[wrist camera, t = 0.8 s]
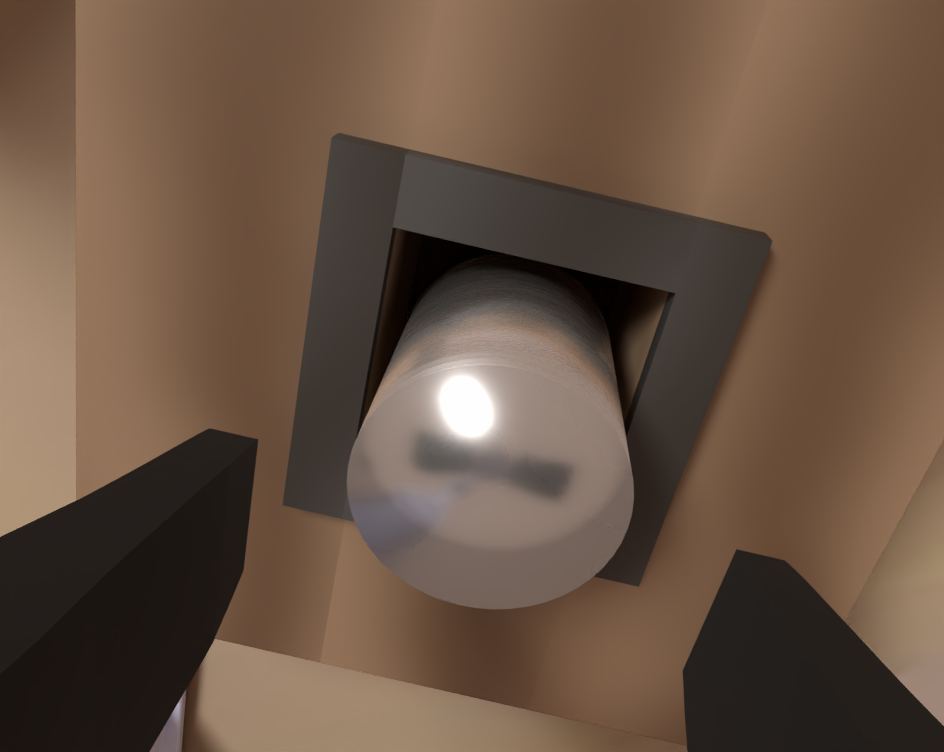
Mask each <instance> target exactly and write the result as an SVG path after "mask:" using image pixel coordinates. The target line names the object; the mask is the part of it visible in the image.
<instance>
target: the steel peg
mask: <svg viewBox="0 0 944 752" xmlns="http://www.w3.org/2000/svg"><path fill="white" fill-rule="evenodd" d="M347 493H348V500H349V504H350V509H351V513H352V515H353V518H354V521H355V524H356V526H357V528H358V530H359V532H360V534H361V536H362V537H363V539H364V541H365V542H366V544H367V545H368V547H369V548H370V549H371V551H372V552H373V554H374V555H375V556H376V557H377V558H378V559H379V560H380V561H381V562H382V563H383V564H384V565H385V566H386V567H387V568H388V569H389V570H390V571H391V572H393V573H394V574H395V575H396V576H397V577H399V578H400V579H402V580H403V581H405V582H406V583H408V584H409V585H411V586H412V587H414V588H416V589H418V590H420V591H422V592H424V593H426V594H428V595H430V596H433V597H435V598H438V599H440V600H443V601H447V602H450V603H454V604H457V605H461V606H467V607H473V608H482V609H514V608H521V607H528V606H532V605H536V604H540V603H545V602H547V601H550V600H553V599H556V598H558V597H561V596H563V595H565V594H567V593H569V592H571V591H573V590H575V589H577V588H578V587H580V586H581V585H582V584H584V583H585V582H587V581H588V580H590V579H591V578H592V577H593V576H594V575H596V574H597V573H598V572H599V571H600V570H601V569H602V568H603V567H604V566H605V565H606V564H607V563H608V561H609V560H610V559H611V558H612V557H613V555H614V554H615V552H616V551H617V549H618V548H619V546H620V544H621V543H622V541H623V538H624V536H625V534H626V532H627V530H628V527H629V523H630V519H631V516H632V511H633V502H634V484H633V476H632V470H631V464H630V458H629V452H628V446H627V440H626V434H625V428H624V422H623V416H622V410H621V404H620V398H619V392H618V386H617V380H616V374H615V368H614V362H613V356H612V350H611V344H610V338H609V333H608V328H607V325H606V322H605V319H604V316H603V314H602V312H601V310H600V308H599V306H598V304H597V303H596V301H595V300H594V298H593V297H592V295H591V294H590V293H589V292H588V290H587V289H586V288H585V287H584V286H583V285H582V284H581V283H580V282H579V281H578V280H576V279H575V278H574V277H573V276H571V275H570V274H569V273H567V272H566V271H564V270H562V269H561V268H559V267H558V266H555V265H552V264H548V263H544V262H540V261H535V260H531V259H527V258H522V257H518V256H514V255H510V254H492V255H485V256H481V257H476V258H473V259H470V260H467V261H465V262H462V263H460V264H458V265H456V266H454V267H452V268H450V269H449V270H447V271H446V272H444V273H443V274H441V275H440V276H439V277H437V278H436V279H435V280H434V281H433V282H432V283H431V284H430V285H429V286H428V287H427V288H426V290H425V291H424V292H423V293H422V294H421V296H420V297H419V299H418V301H417V302H416V304H415V306H414V308H413V310H412V312H411V315H410V317H409V319H408V321H407V324H406V326H405V328H404V331H403V333H402V335H401V337H400V340H399V342H398V344H397V347H396V349H395V351H394V354H393V356H392V358H391V360H390V363H389V365H388V367H387V370H386V372H385V374H384V377H383V379H382V381H381V383H380V386H379V388H378V390H377V393H376V395H375V397H374V400H373V402H372V404H371V406H370V409H369V411H368V413H367V416H366V418H365V420H364V423H363V425H362V427H361V429H360V432H359V434H358V436H357V439H356V441H355V443H354V446H353V448H352V451H351V455H350V459H349V463H348V472H347Z"/></svg>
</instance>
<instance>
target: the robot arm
mask: <svg viewBox="0 0 944 752" xmlns="http://www.w3.org/2000/svg"><path fill="white" fill-rule="evenodd" d="M257 447H258V439H255V438H251V437H246V436H242V435H237V434H233V433H229V432H224V431H220V430H216V429H211V428H209V429H207V430H205V431H203V432H201V433H199V434H197V435H195V436H193V437H192V438H190V439H188V440H186V441H184V442H183V443H181V444H179V445H177V446H176V447H174V448H172V449H170V450H168V451H167V452H165V453H163V454H161V455H160V456H158V457H156V458H154V459H152V460H151V461H149V462H147V463H145V464H143V465H142V466H140V467H138V468H136V469H134V470H133V471H131V472H129V473H127V474H125V475H123V476H121V477H120V478H118V479H116V480H114V481H112V482H110V483H108V484H107V485H105V486H103V487H101V488H99V489H97V490H95V491H94V492H92V493H90V494H88V495H86V496H84V497H82V498H80V499H79V500H77V501H75V502H73V503H70V504H68V505H66V506H64V507H62V508H60V509H58V510H56V511H54V512H52V513H50V514H47V515H45V516H43V517H41V518H39V519H37V520H35V521H33V522H31V523H29V524H27V525H24V526H22V527H20V528H18V529H16V530H14V531H12V532H10V533H8V534H6V535H4V536H1V537H0V752H181V750H182V738H183V725H184V713H185V700H186V688H187V687H188V685H189V683H190V682H191V680H192V678H193V676H194V675H195V673H196V671H197V669H198V668H199V666H200V664H201V662H202V661H203V659H204V657H205V655H206V654H207V652H208V650H209V648H210V647H211V645H212V643H213V641H214V639H215V636H216V634H217V632H218V630H219V627H220V625H221V623H222V621H223V618H224V616H225V614H226V611H227V609H228V607H229V604H230V602H231V600H232V597H233V595H234V592H235V590H236V588H237V585H238V583H239V580H240V578H241V576H242V573H243V571H244V563H245V554H246V545H247V536H248V527H249V518H250V509H251V500H252V492H253V483H254V474H255V465H256V456H257ZM683 690H684V710H685V725H686V738H687V750H688V752H944V726H943V725H942V724H941V723H940V722H939V721H938V720H937V719H936V718H935V717H934V716H933V715H932V714H931V713H930V712H929V711H928V710H927V709H926V708H925V707H924V706H923V705H922V704H921V703H920V702H919V701H918V700H917V699H916V698H915V697H914V695H913V694H912V693H910V691H909V690H908V689H907V688H906V687H905V686H904V685H903V684H902V683H901V682H900V681H899V680H898V679H897V678H896V677H895V675H894V674H893V673H892V672H891V671H890V670H889V669H888V668H887V667H886V666H885V665H884V664H883V663H882V662H881V661H880V659H879V658H878V657H877V656H876V655H875V654H874V653H873V652H872V651H871V650H870V649H869V648H868V647H867V645H866V644H865V643H864V642H863V641H862V640H861V639H860V638H859V637H858V636H857V635H856V634H855V632H854V631H853V630H852V629H851V628H850V627H849V626H848V625H847V624H846V623H845V622H844V620H843V619H842V618H841V617H840V616H839V615H838V614H837V613H836V612H835V611H834V610H833V609H832V607H831V606H830V605H829V604H828V603H827V602H826V601H825V600H824V599H823V598H822V597H821V596H820V595H819V594H818V593H817V591H816V590H815V589H814V588H813V587H812V586H811V585H810V584H809V583H808V582H807V581H806V580H805V579H804V578H803V577H802V576H801V575H800V574H799V573H798V572H797V571H796V570H795V569H794V568H793V567H792V566H791V565H790V564H788V563H787V562H786V561H785V560H781V559H777V558H773V557H768V556H764V555H760V554H755V553H751V552H747V551H742V550H738V549H736V551H735V553H734V556H733V558H732V560H731V563H730V565H729V567H728V569H727V572H726V574H725V576H724V578H723V581H722V583H721V585H720V587H719V590H718V592H717V594H716V596H715V599H714V601H713V603H712V605H711V608H710V610H709V612H708V614H707V617H706V619H705V621H704V623H703V626H702V628H701V630H700V632H699V635H698V637H697V639H696V641H695V644H694V646H693V648H692V650H691V653H690V655H689V657H688V660H687V662H686V664H685V666H684V669H683Z"/></svg>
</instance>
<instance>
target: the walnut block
mask: <svg viewBox="0 0 944 752" xmlns="http://www.w3.org/2000/svg"><path fill="white" fill-rule="evenodd" d="M75 17H76V501H77V500H79V499H80V498H82V497H84V496H86V495H88V494H90V493H92V492H94V491H95V490H97V489H99V488H101V487H103V486H105V485H107V484H108V483H110V482H112V481H114V480H116V479H118V478H120V477H121V476H123V475H125V474H127V473H129V472H131V471H133V470H134V469H136V468H138V467H140V466H142V465H143V464H145V463H147V462H149V461H151V460H152V459H154V458H156V457H158V456H160V455H161V454H163V453H165V452H167V451H168V450H170V449H172V448H174V447H176V446H177V445H179V444H181V443H183V442H184V441H186V440H188V439H190V438H192V437H193V436H195V435H197V434H199V433H201V432H203V431H205V430H207V429H209V428H211V429H216V430H220V431H224V432H229V433H233V434H237V435H242V436H246V437H251V438H255V439H258V447H257V456H256V465H255V474H254V483H253V492H252V500H251V509H250V518H249V527H248V536H247V545H246V554H245V563H244V571H243V573H242V576H241V578H240V580H239V583H238V585H237V588H236V590H235V592H234V595H233V597H232V600H231V602H230V604H229V607H228V609H227V611H226V614H225V616H224V618H223V621H222V623H221V625H220V627H219V630H218V632H217V634H216V636H215V639H218V640H223V641H227V642H232V643H236V644H241V645H245V646H249V647H254V648H258V649H263V650H267V651H271V652H276V653H280V654H285V655H289V656H293V657H298V658H302V659H307V660H311V661H316V662H320V663H324V664H329V665H333V666H338V667H342V668H346V669H351V670H355V671H360V672H364V673H368V674H373V675H377V676H382V677H386V678H391V679H395V680H399V681H404V682H408V683H413V684H417V685H421V686H426V687H430V688H435V689H439V690H443V691H448V692H452V693H457V694H461V695H466V696H470V697H474V698H479V699H483V700H488V701H492V702H496V703H501V704H505V705H510V706H514V707H518V708H523V709H527V710H532V711H536V712H540V713H545V714H549V715H554V716H558V717H563V718H567V719H571V720H576V721H580V722H585V723H589V724H593V725H598V726H602V727H607V728H611V729H615V730H620V731H624V732H629V733H633V734H638V735H642V736H646V737H651V738H655V739H660V740H664V741H668V742H673V743H677V744H682V745H686V746H687V738H686V725H685V710H684V690H683V669H684V666H685V664H686V662H687V660H688V657H689V655H690V653H691V650H692V648H693V646H694V644H695V641H696V639H697V637H698V635H699V632H700V630H701V628H702V626H703V623H704V621H705V619H706V617H707V614H708V612H709V610H710V608H711V605H712V603H713V601H714V599H715V596H716V594H717V592H718V590H719V587H720V585H721V583H722V581H723V578H724V576H725V574H726V572H727V569H728V567H729V565H730V563H731V560H732V558H733V556H734V553H735V551H736V549H738V550H742V551H747V552H751V553H755V554H760V555H764V556H768V557H773V558H777V559H781V560H785V561H786V562H787V563H788V564H790V565H791V566H792V567H793V568H794V569H795V570H796V571H797V572H798V573H799V574H800V575H801V576H802V577H803V578H804V579H805V580H806V581H807V582H808V583H809V584H810V585H811V586H812V587H813V588H814V589H815V590H816V591H817V593H818V594H819V595H820V596H821V597H822V598H823V599H824V600H825V601H826V602H827V603H828V604H829V605H830V606H831V607H832V609H833V610H834V611H835V612H836V613H837V614H838V615H839V616H840V617H841V618H842V619H843V620H844V622H845V621H846V619H847V617H848V615H849V613H850V611H851V610H852V608H853V606H854V604H855V602H856V600H857V599H858V597H859V595H860V593H861V591H862V589H863V588H864V586H865V584H866V582H867V580H868V578H869V576H870V575H871V573H872V571H873V569H874V567H875V565H876V564H877V562H878V560H879V558H880V556H881V554H882V553H883V551H884V549H885V547H886V545H887V543H888V541H889V540H890V538H891V536H892V534H893V532H894V530H895V529H896V527H897V525H898V523H899V521H900V519H901V518H902V516H903V514H904V512H905V510H906V508H907V506H908V505H909V503H910V501H911V499H912V497H913V495H914V494H915V492H916V490H917V488H918V486H919V484H920V483H921V481H922V479H923V477H924V475H925V473H926V471H927V470H928V468H929V466H930V464H931V462H932V460H933V459H934V457H935V455H936V453H937V451H938V449H939V448H940V446H941V444H942V442H943V440H944V0H75ZM422 234H424V235H428V236H432V237H437V238H441V239H445V240H450V241H454V242H458V243H462V244H467V245H471V246H475V247H480V248H484V249H488V250H492V251H497V252H501V253H505V254H510V255H514V256H518V257H522V258H527V259H531V260H535V261H540V262H544V263H548V264H552V265H557V266H561V267H565V268H570V269H574V270H578V271H582V272H587V273H591V274H595V275H600V276H604V277H608V278H612V279H617V280H621V283H620V286H619V289H618V293H617V296H616V299H615V302H614V306H613V309H612V312H611V315H610V319H609V322H608V325H607V328H608V333H609V338H610V344H611V350H612V356H613V362H614V368H615V374H616V380H617V386H618V392H619V398H620V404H621V410H622V416H623V422H624V428H625V434H626V440H627V446H628V452H629V458H630V464H631V470H632V476H633V484H634V502H633V511H632V516H631V519H630V523H629V527H628V530H627V532H626V534H625V536H624V538H623V541H622V543H621V544H620V546H619V548H618V549H617V551H616V552H615V554H614V555H613V557H612V558H611V559H610V560H609V561H608V563H607V564H606V565H605V566H604V567H603V568H602V569H601V570H600V571H599V572H598V573H597V574H596V575H594V576H593V577H592V578H591V579H590V580H588V581H587V582H585V583H584V584H582V585H581V586H580V587H578V588H577V589H575V590H573V591H571V592H569V593H567V594H565V595H563V596H561V597H558V598H556V599H553V600H550V601H547V602H545V603H540V604H536V605H532V606H528V607H521V608H514V609H482V608H473V607H467V606H461V605H457V604H454V603H450V602H447V601H443V600H440V599H438V598H435V597H433V596H430V595H428V594H426V593H424V592H422V591H420V590H418V589H416V588H414V587H412V586H411V585H409V584H408V583H406V582H405V581H403V580H402V579H400V578H399V577H397V576H396V575H395V574H394V573H393V572H391V571H390V570H389V569H388V568H387V567H386V566H385V565H384V564H383V563H382V562H381V561H380V560H379V559H378V558H377V557H376V556H375V555H374V554H373V552H372V551H371V549H370V548H369V547H368V545H367V544H366V542H365V541H364V539H363V537H362V536H361V534H360V532H359V530H358V528H357V526H356V524H355V521H354V518H353V515H352V513H351V509H350V504H349V500H348V493H347V472H348V463H349V459H350V455H351V451H352V448H353V446H354V443H355V441H356V439H357V436H358V434H359V432H360V429H361V427H362V425H363V423H364V420H365V418H366V416H367V413H368V411H369V409H370V406H371V404H372V402H373V400H374V397H375V395H376V393H377V390H378V388H379V386H380V383H381V381H382V379H383V377H384V374H385V372H386V370H387V367H388V365H389V363H390V360H391V358H392V356H393V354H394V351H395V349H396V347H397V344H398V342H399V340H400V337H401V335H402V333H403V331H404V326H405V321H406V315H407V310H408V305H409V300H410V294H411V289H412V284H413V279H414V273H415V268H416V263H417V258H418V252H419V247H420V242H421V237H422Z"/></svg>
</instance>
